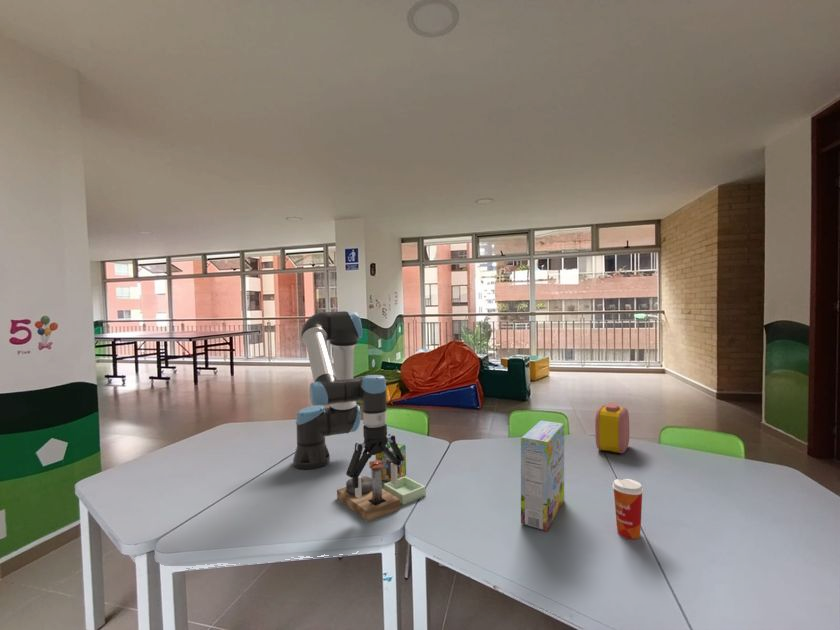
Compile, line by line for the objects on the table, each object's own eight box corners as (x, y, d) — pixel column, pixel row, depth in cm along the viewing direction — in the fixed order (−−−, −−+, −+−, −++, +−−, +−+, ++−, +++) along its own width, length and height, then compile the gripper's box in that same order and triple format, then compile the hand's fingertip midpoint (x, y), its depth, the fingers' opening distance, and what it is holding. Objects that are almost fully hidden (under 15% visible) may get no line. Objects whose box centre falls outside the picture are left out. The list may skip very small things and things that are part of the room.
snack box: (550, 533, 110) (548, 442, 110) (519, 525, 115) (517, 437, 115) (566, 500, 129) (565, 422, 128) (540, 494, 133) (538, 419, 133)
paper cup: (607, 527, 113) (606, 478, 112) (633, 525, 113) (632, 476, 113) (624, 543, 105) (622, 490, 105) (651, 540, 105) (650, 488, 105)
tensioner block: (337, 498, 134) (336, 478, 134) (367, 487, 142) (366, 468, 142) (368, 521, 119) (367, 498, 119) (400, 508, 126) (399, 486, 126)
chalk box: (397, 483, 145) (396, 443, 145) (375, 480, 148) (374, 441, 148) (407, 473, 154) (406, 435, 154) (386, 470, 157) (385, 433, 157)
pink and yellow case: (603, 441, 184) (603, 399, 184) (630, 445, 178) (629, 402, 178) (595, 453, 169) (594, 408, 169) (623, 458, 163) (622, 411, 163)
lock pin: (368, 509, 126) (366, 462, 126) (379, 505, 129) (378, 459, 129) (375, 515, 123) (374, 466, 123) (387, 510, 125) (385, 463, 125)
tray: (383, 492, 138) (383, 483, 138) (405, 484, 144) (405, 476, 144) (403, 504, 129) (403, 495, 129) (425, 495, 135) (425, 486, 135)
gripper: (345, 435, 115) (347, 507, 115) (413, 418, 130) (414, 482, 131) (333, 430, 121) (336, 498, 121) (399, 414, 136) (401, 475, 136)
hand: (377, 490), depth 126 cm, fingers open, 13 cm apart
